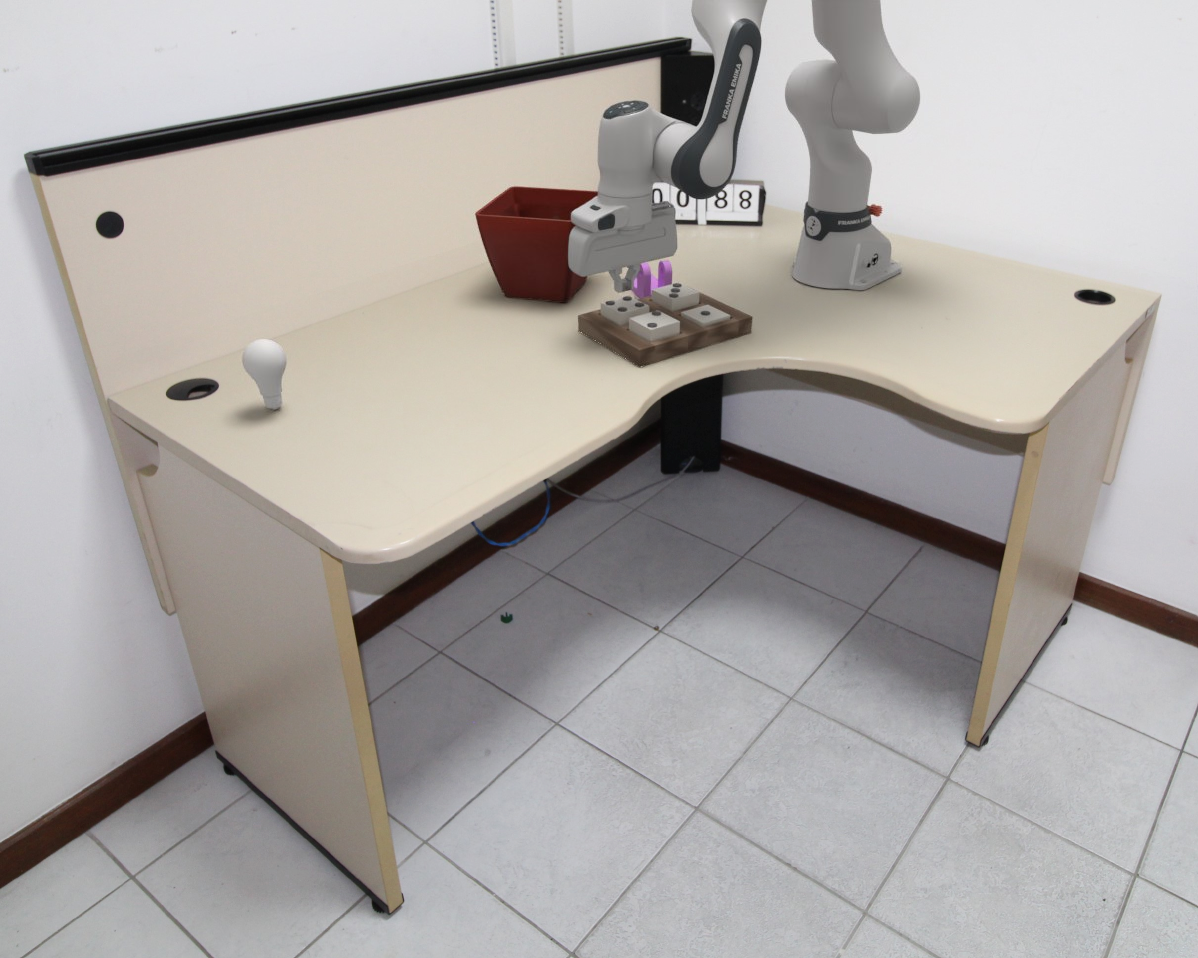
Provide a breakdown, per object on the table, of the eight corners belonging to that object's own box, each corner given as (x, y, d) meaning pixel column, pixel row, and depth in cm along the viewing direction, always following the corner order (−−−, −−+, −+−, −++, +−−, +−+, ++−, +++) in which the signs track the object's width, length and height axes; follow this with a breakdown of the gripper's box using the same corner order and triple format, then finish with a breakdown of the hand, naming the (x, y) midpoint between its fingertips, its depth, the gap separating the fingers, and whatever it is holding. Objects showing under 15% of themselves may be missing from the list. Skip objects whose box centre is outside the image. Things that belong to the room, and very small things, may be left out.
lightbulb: (258, 400, 146) (243, 333, 140) (299, 398, 146) (286, 331, 140) (249, 419, 141) (233, 350, 135) (291, 417, 141) (277, 348, 135)
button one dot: (706, 321, 169) (707, 303, 168) (729, 332, 165) (730, 314, 163) (680, 329, 167) (680, 311, 165) (702, 340, 162) (703, 322, 161)
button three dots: (677, 299, 175) (678, 281, 173) (698, 309, 170) (699, 291, 168) (651, 306, 172) (651, 288, 170) (671, 317, 167) (672, 298, 166)
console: (686, 301, 178) (686, 286, 177) (751, 332, 166) (752, 316, 164) (578, 331, 167) (578, 315, 165) (639, 367, 154) (639, 350, 153)
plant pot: (479, 302, 179) (472, 212, 170) (516, 268, 195) (511, 185, 186) (577, 312, 175) (574, 220, 166) (606, 277, 190) (605, 191, 181)
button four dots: (628, 312, 169) (628, 294, 168) (649, 323, 165) (649, 304, 163) (600, 320, 166) (600, 301, 165) (620, 331, 162) (620, 312, 160)
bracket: (671, 299, 180) (672, 264, 176) (643, 303, 178) (644, 267, 175) (648, 277, 190) (648, 242, 187) (621, 280, 189) (621, 245, 185)
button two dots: (657, 328, 163) (657, 309, 162) (679, 339, 159) (680, 320, 157) (628, 336, 161) (629, 317, 159) (650, 348, 156) (650, 328, 155)
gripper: (663, 195, 162) (661, 273, 170) (562, 214, 153) (563, 297, 160) (687, 203, 158) (683, 283, 165) (583, 224, 148) (584, 308, 155)
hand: (623, 290), depth 162 cm, fingers closed
